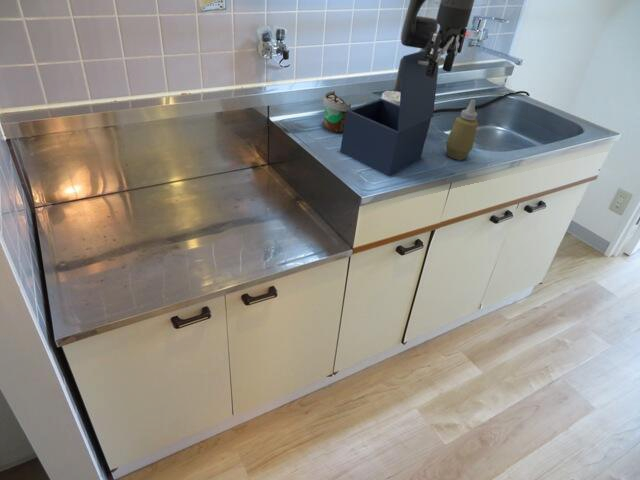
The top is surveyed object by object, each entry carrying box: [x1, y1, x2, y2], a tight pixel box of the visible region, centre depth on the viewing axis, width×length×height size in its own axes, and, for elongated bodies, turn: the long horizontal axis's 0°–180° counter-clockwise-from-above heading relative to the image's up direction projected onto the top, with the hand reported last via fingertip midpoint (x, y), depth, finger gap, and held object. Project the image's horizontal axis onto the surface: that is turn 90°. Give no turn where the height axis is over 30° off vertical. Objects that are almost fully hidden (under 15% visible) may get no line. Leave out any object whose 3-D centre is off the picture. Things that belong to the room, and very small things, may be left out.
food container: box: [322, 90, 352, 134], centre depth 151 cm, size 12×6×10 cm, turn 25°
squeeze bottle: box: [445, 99, 479, 161], centre depth 142 cm, size 8×8×18 cm
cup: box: [380, 90, 401, 106], centre depth 154 cm, size 9×9×12 cm
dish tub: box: [339, 98, 432, 176], centre depth 138 cm, size 18×17×13 cm
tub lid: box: [398, 49, 445, 132], centre depth 123 cm, size 19×17×5 cm
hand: (438, 73), depth 119 cm, fingers open, 8 cm apart
